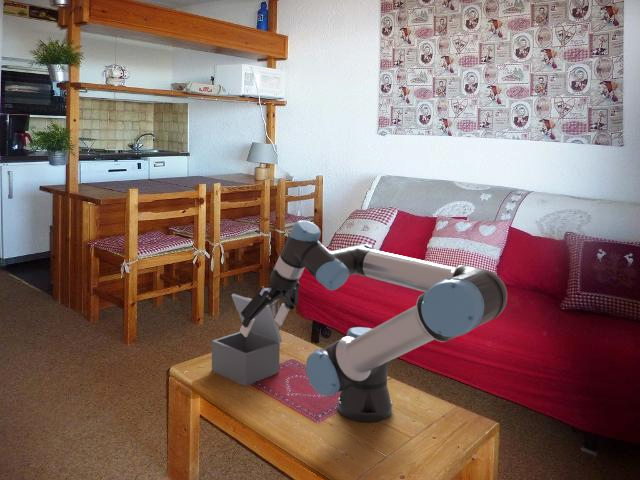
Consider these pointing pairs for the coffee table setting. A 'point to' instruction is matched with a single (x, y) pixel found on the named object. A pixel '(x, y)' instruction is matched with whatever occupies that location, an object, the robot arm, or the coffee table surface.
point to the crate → (245, 357)
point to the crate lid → (259, 319)
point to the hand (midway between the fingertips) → (261, 328)
